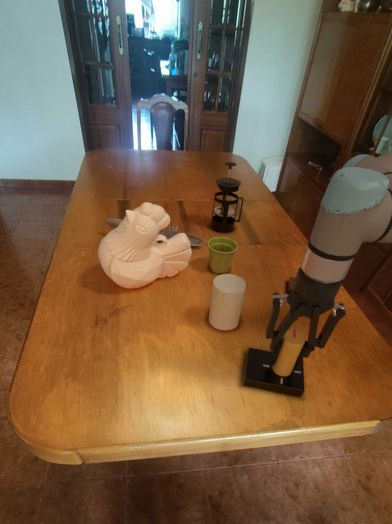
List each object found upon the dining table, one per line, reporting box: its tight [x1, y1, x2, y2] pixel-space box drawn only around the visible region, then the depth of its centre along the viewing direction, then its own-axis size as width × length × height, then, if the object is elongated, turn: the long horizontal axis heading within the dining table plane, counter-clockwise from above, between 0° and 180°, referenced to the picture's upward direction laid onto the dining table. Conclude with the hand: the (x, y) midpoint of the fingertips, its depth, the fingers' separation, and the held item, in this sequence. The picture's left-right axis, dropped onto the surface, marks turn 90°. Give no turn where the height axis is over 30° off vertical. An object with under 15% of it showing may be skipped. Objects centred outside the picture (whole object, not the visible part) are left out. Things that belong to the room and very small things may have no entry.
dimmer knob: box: [272, 329, 306, 376], centre depth 68 cm, size 4×4×10 cm
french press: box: [209, 161, 245, 234], centre depth 116 cm, size 12×9×23 cm
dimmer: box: [242, 347, 305, 398], centre depth 73 cm, size 13×10×3 cm
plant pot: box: [207, 236, 239, 275], centre depth 101 cm, size 9×9×9 cm
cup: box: [208, 273, 247, 331], centre depth 82 cm, size 8×8×12 cm
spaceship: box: [104, 217, 205, 247], centre depth 110 cm, size 8×35×8 cm
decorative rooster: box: [97, 201, 193, 289], centre depth 88 cm, size 25×16×25 cm
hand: (284, 362), depth 70 cm, fingers open, 4 cm apart
